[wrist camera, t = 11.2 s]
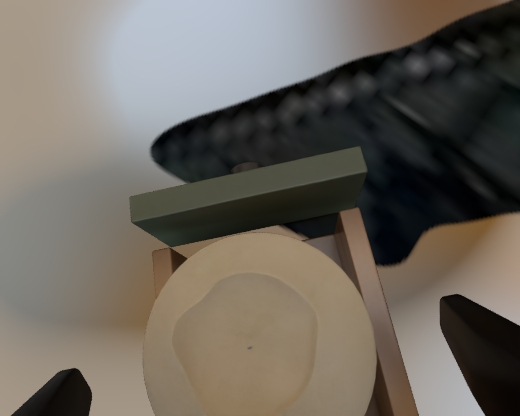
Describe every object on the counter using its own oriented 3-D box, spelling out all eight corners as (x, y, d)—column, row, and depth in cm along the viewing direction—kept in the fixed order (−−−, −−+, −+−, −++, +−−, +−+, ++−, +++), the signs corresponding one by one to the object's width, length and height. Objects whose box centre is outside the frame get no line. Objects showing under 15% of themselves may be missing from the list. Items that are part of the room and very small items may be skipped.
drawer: (166, 206, 21) (126, 170, 16) (343, 167, 20) (352, 120, 16) (196, 498, 16) (153, 562, 12) (425, 460, 16) (473, 511, 11)
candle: (331, 425, 16) (365, 567, 6) (206, 388, 17) (71, 461, 7) (353, 293, 17) (408, 243, 8) (238, 266, 18) (161, 194, 9)
